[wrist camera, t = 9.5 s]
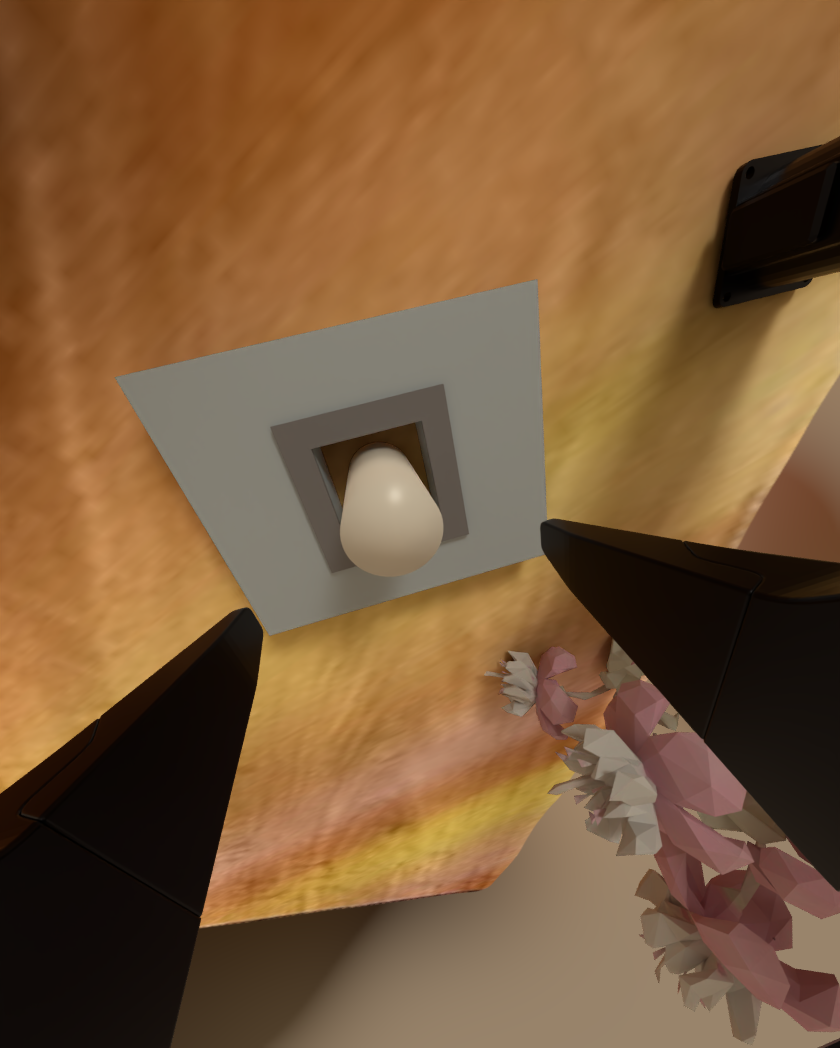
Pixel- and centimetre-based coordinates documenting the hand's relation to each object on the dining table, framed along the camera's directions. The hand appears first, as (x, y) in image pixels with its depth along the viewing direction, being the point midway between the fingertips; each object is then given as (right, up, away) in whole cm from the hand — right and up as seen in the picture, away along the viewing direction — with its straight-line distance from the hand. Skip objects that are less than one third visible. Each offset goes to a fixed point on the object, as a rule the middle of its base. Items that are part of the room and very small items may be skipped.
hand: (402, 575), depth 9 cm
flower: (+15, -11, +21) cm, 28 cm away
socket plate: (-2, +5, +11) cm, 12 cm away
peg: (-2, +5, +11) cm, 12 cm away
